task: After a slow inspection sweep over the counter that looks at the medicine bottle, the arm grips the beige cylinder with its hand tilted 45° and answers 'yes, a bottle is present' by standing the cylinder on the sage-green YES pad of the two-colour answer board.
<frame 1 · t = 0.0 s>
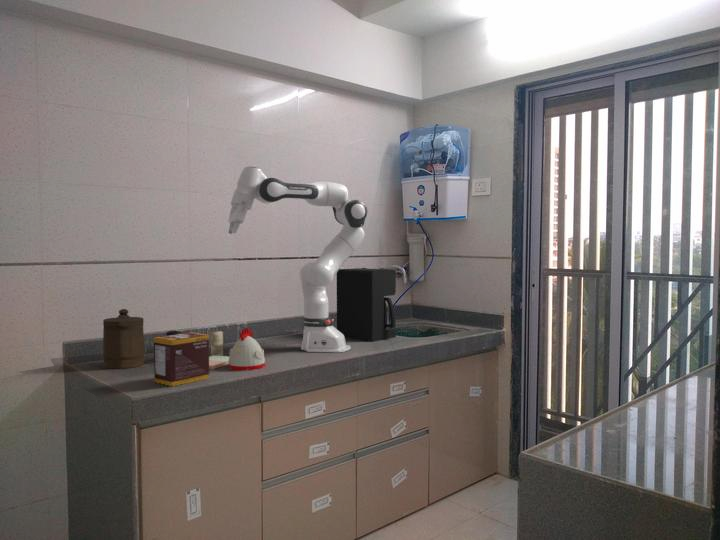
hand: (231, 233, 241), 52 cm above the counter, tool tilted 20°, fingers open, 8 cm apart
supplement box: (182, 381, 196), on the counter
wooden container: (124, 365, 222), on the counter
beige cylinder: (217, 355, 241), on the counter
answer board: (213, 363, 224), on the counter
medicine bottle: (174, 360, 231), on the counter
coffee maker: (369, 337, 288), on the counter
kitchen timer: (246, 367, 218), on the counter
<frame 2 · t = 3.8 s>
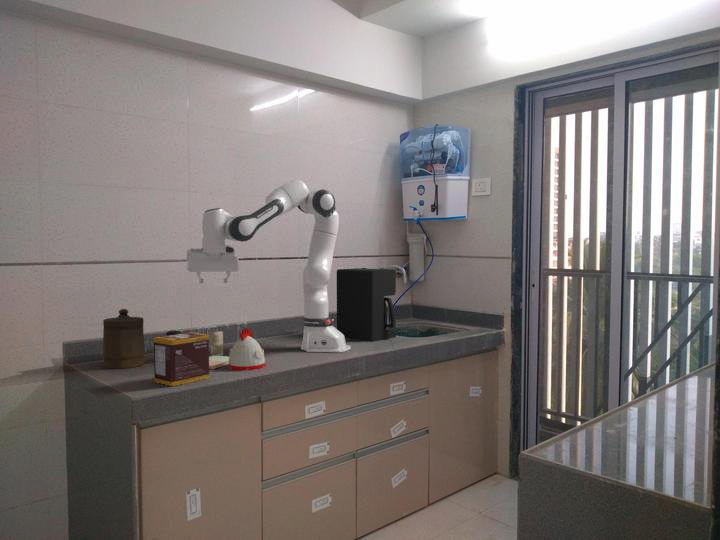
hand: (213, 283, 227), 32 cm above the counter, tool pointing down, fingers open, 8 cm apart
nothing on the counter moved.
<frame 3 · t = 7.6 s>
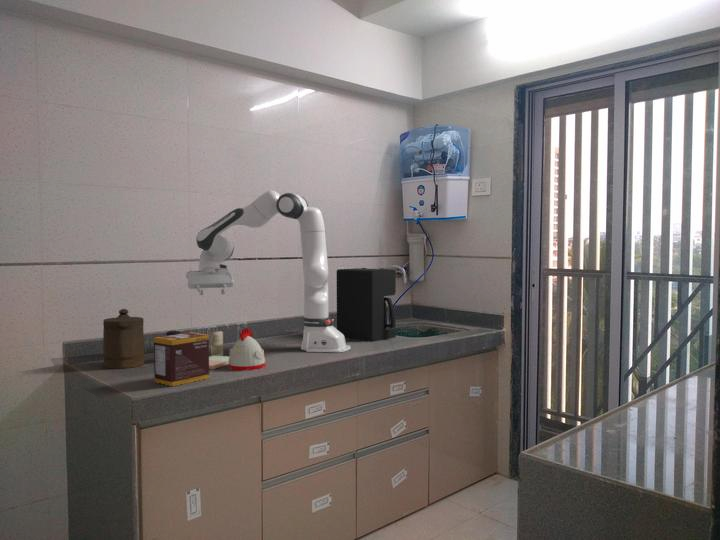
hand: (212, 293, 251), 25 cm above the counter, tool tilted 45°, fingers open, 8 cm apart
nothing on the counter moved.
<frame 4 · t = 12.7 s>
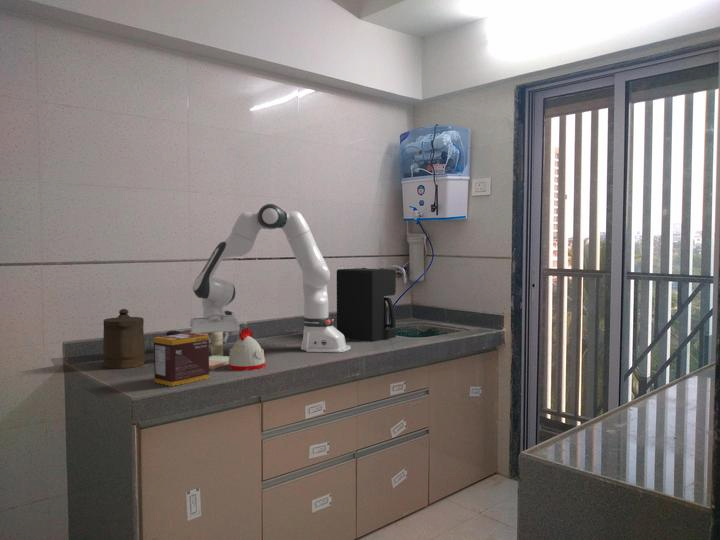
hand: (217, 343, 240), 5 cm above the counter, tool tilted 45°, fingers closed on beige cylinder, 5 cm apart
beige cylinder: (217, 355, 241), on the counter, touching gripper
everything else where it was.
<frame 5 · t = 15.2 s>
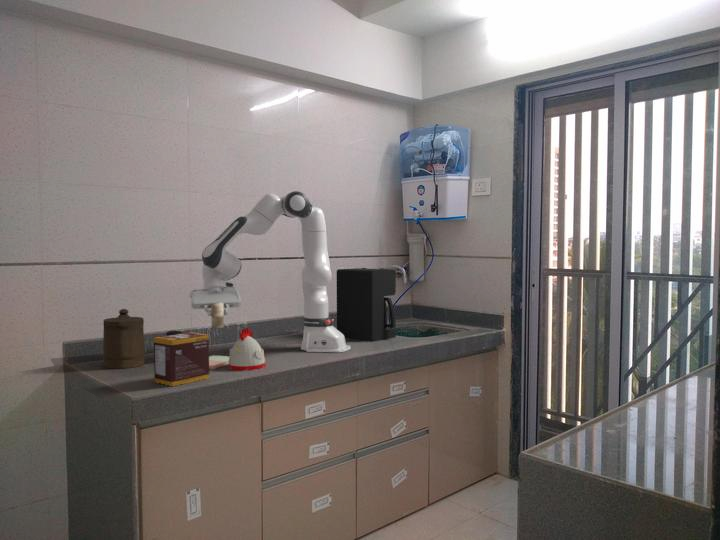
hand: (217, 314, 234), 18 cm above the counter, tool tilted 45°, fingers closed on beige cylinder, 5 cm apart
beige cylinder: (217, 327, 235), point 13 cm above the counter, touching gripper
everything else where it was.
when the fingers open (8 cm above the counter, at t = 18.1 s): beige cylinder drops 1 cm, resting on answer board.
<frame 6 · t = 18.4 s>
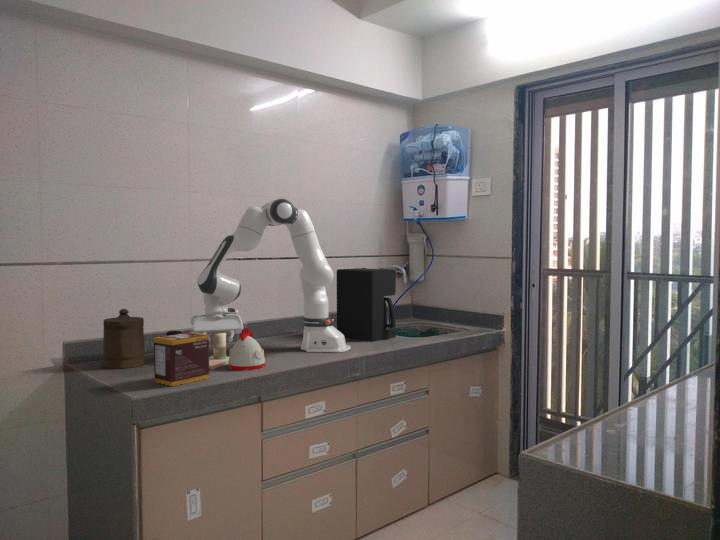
hand: (219, 341, 227), 8 cm above the counter, tool tilted 45°, fingers open, 7 cm apart
beige cylinder: (219, 358, 228), point 1 cm above the counter, touching answer board
everything else where it was.
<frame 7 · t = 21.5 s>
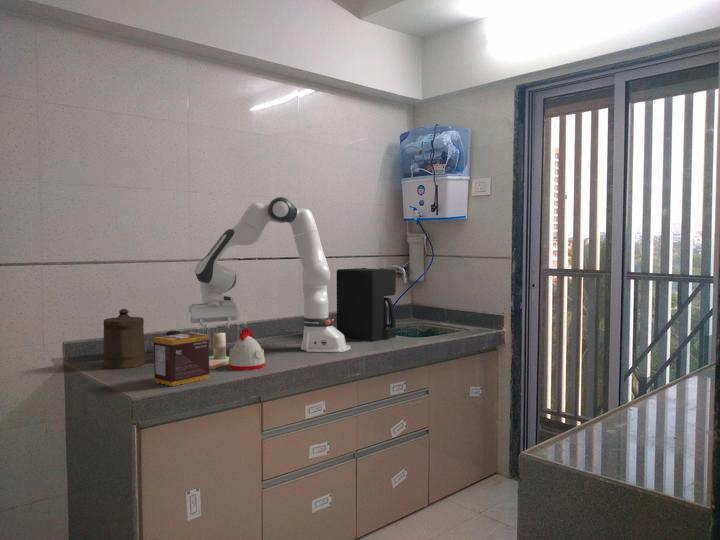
hand: (216, 328, 240), 12 cm above the counter, tool tilted 45°, fingers open, 8 cm apart
nothing on the counter moved.
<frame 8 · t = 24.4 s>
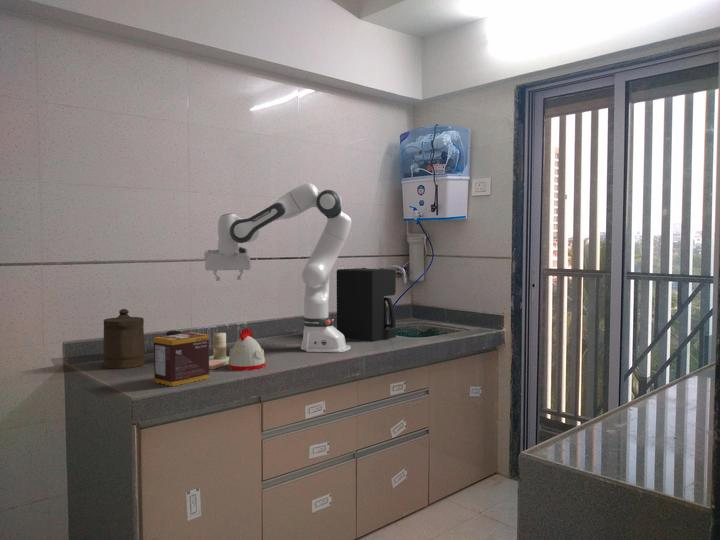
hand: (228, 280, 256), 31 cm above the counter, tool pointing down, fingers open, 8 cm apart
nothing on the counter moved.
at the end: beige cylinder inside the target area on the answer board (0.1 cm from its centre), point 1.3 cm above the answer board's base; beige cylinder tilted 1°; the gripper is holding nothing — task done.
